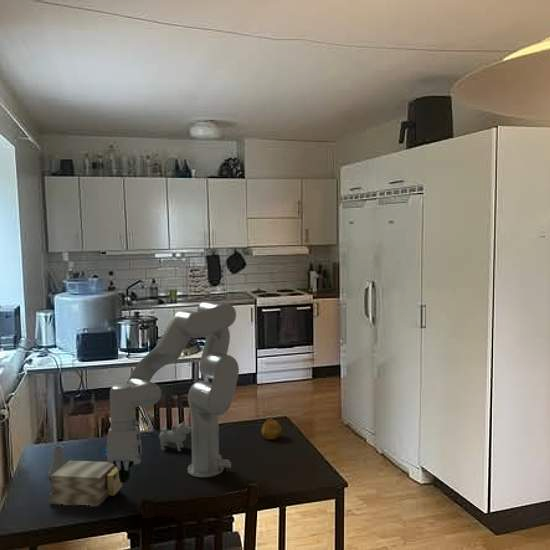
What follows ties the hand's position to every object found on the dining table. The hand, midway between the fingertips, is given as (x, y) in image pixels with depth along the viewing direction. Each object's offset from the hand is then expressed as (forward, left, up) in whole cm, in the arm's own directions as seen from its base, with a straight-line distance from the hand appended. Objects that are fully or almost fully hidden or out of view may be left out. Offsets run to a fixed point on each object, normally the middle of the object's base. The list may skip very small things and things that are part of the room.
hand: (124, 480), depth 170 cm
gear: (+13, -22, -6) cm, 26 cm away
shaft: (+12, 0, -3) cm, 13 cm away
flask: (+29, -13, -6) cm, 33 cm away
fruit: (-40, -56, -6) cm, 69 cm away
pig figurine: (-4, -41, -6) cm, 42 cm away
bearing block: (+13, 0, -5) cm, 14 cm away
